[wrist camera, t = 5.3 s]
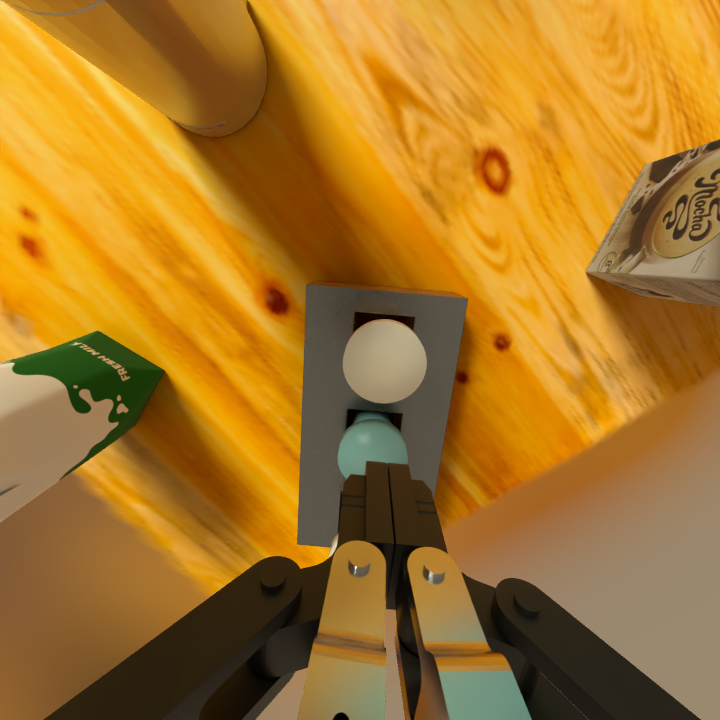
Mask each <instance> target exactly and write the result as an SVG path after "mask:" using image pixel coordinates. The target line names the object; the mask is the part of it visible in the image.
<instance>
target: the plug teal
mask: <svg viewBox="0 0 720 720" xmlns="http://www.w3.org/2000/svg"><path fill="white" fill-rule="evenodd" d="M366 461H376V462H386V463H398V464H407V463H408V455H407V449H406V444H405V440H404V438H403V436H402V434H401V432H400V431H399V430H398V429H397V428H396V427H395V426H394V425H393V424H392V418H391V415H390V414H389V412H380V411H368V410H357V412H356V413H355V415H354V417H353V422H352V425H351V426H350V427H349V428H348V429H347V430H346V431H345V432H344V434H343V436H342V438H341V441H340V445H339V451H338V465H339V469H340V471H341V473H342V474H343V476H344V477H345V478H346V479H347V478H348V477H349V476H350V474H356V475H365V466H366Z"/></svg>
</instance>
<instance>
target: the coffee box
mask: <svg viewBox="0 0 720 720" xmlns="http://www.w3.org/2000/svg"><path fill="white" fill-rule="evenodd" d="M586 272H587V273H588V274H591V275H593V276H596V277H598V278H600V279H603V280H605V281H607V282H610V283H612V284H614V285H617V286H619V287H621V288H624V289H626V290H629V291H631V292H634V293H636V294H638V295H641V296H643V297H652V298H660V299H668V300H674V301H681V302H688V303H694V304H702V305H709V306H716V307H720V139H719V140H717V141H714V142H710V143H707V144H704V145H701V146H699V147H696V148H693V149H690V150H687V151H684V152H681V153H678V154H675V155H672V156H669V157H667V158H664V159H661V160H658V161H655V162H651V163H649V164H646V165H645V166H644V168H643V170H642V171H641V173H640V175H639V177H638V178H637V180H636V182H635V184H634V186H633V187H632V189H631V191H630V193H629V195H628V196H627V198H626V200H625V202H624V204H623V205H622V207H621V209H620V211H619V213H618V214H617V216H616V218H615V220H614V221H613V223H612V225H611V227H610V229H609V230H608V232H607V234H606V236H605V238H604V239H603V241H602V243H601V245H600V247H599V248H598V250H597V252H596V254H595V256H594V257H593V259H592V261H591V263H590V265H589V266H588V268H587V270H586Z"/></svg>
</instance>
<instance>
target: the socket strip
mask: <svg viewBox="0 0 720 720" xmlns="http://www.w3.org/2000/svg"><path fill="white" fill-rule="evenodd" d="M467 302H468V298H466V297H463V296H461V295H458V294H456V293H453V292H444V291H432V290H420V289H409V288H397V287H385V286H374V285H362V284H350V283H339V282H327V281H315V282H312V283H309V284H307V289H306V316H305V343H304V371H303V398H302V425H301V453H300V480H299V507H298V534H297V544H298V545H309V546H320V547H331V544H332V541H333V539H334V537H335V536H336V535H337V534H338V533H339V523H340V513H341V504H342V491H343V485H344V482H345V481H346V478H345V477H344V476H343V474H342V473H341V471H340V469H339V465H338V451H339V445H340V441H341V438H342V436H343V434H344V432H345V431H346V430H347V426H348V413H349V409H357V410H368V411H380V412H391V413H396V414H395V422H394V426H395V427H396V428H397V429H398V430H399V431H400V432H401V434H402V436H403V438H404V440H405V444H406V449H407V455H408V463H407V464H408V465H409V469H410V474H411V479H412V480H423V481H424V483H425V484H426V485H427V486H428V488H429V489H430V490H431V492H432V495H433V499H434V497H435V491H436V485H437V479H438V473H439V467H440V461H441V455H442V449H443V443H444V438H445V432H446V426H447V420H448V414H449V408H450V402H451V396H452V390H453V384H454V379H455V373H456V367H457V361H458V355H459V349H460V343H461V337H462V331H463V326H464V320H465V314H466V308H467ZM356 312H364V313H376V314H388V315H399V316H407V323H406V326H408V327H409V328H410V329H411V330H412V331H413V332H414V333H415V334H416V335H417V337H418V338H419V340H420V342H421V343H422V345H423V347H424V350H425V353H426V358H427V367H426V373H425V376H424V379H423V380H422V382H421V384H420V385H419V387H418V388H417V389H416V390H415V391H414V392H413V393H412V394H411V395H409V396H408V397H406V398H404V399H402V400H400V401H397V402H393V403H375V402H372V401H369V400H366V399H364V398H362V397H361V396H359V395H358V394H357V393H356V392H355V391H354V390H353V389H352V388H351V387H350V386H349V384H348V382H347V380H346V378H345V375H344V372H343V356H344V352H345V349H346V345H347V343H348V341H349V339H350V337H351V336H352V334H353V333H354V332H355V324H356Z"/></svg>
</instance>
